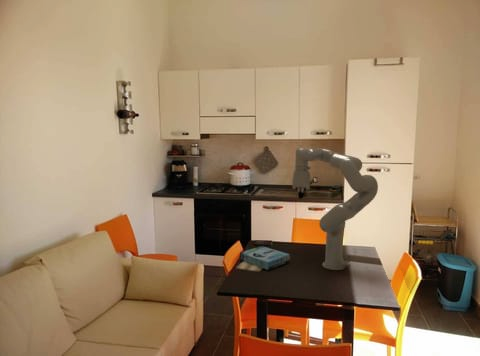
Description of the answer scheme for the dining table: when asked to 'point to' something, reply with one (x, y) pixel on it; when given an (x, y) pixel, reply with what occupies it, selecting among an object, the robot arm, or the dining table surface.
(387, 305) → the dining table surface
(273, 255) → the gum box
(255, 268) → the board
